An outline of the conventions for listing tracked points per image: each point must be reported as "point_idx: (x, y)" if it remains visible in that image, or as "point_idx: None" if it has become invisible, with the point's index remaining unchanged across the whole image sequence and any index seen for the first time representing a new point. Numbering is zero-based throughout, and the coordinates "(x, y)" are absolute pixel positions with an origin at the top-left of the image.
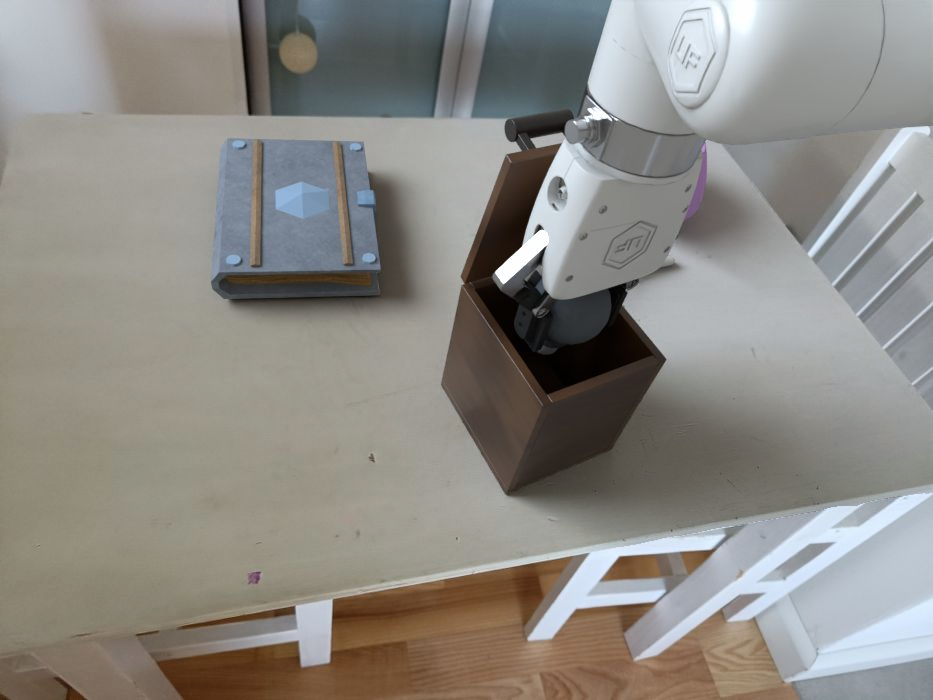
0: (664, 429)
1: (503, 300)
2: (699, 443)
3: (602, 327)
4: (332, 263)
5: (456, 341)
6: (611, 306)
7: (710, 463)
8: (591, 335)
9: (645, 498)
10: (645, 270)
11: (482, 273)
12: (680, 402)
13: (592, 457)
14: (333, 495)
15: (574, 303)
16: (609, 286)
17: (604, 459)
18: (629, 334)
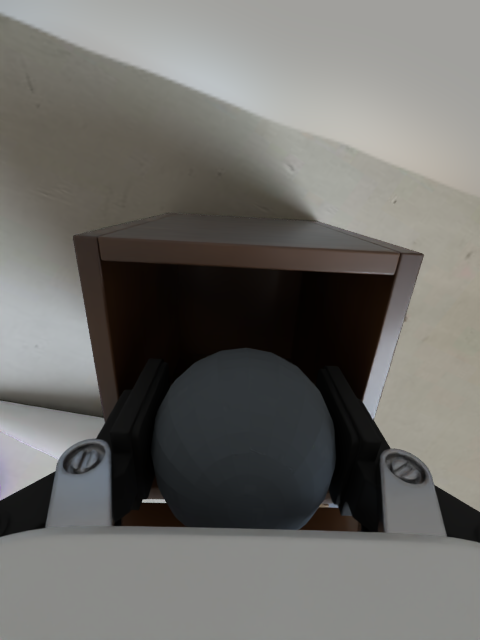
0: (83, 204)
1: None
2: (45, 163)
3: (216, 365)
4: (336, 507)
5: None
6: (152, 403)
7: (45, 127)
8: (250, 357)
9: (164, 130)
10: (47, 589)
11: (331, 524)
12: (40, 228)
13: (197, 214)
14: (458, 300)
15: (304, 462)
16: (274, 548)
17: (183, 205)
18: (117, 327)
